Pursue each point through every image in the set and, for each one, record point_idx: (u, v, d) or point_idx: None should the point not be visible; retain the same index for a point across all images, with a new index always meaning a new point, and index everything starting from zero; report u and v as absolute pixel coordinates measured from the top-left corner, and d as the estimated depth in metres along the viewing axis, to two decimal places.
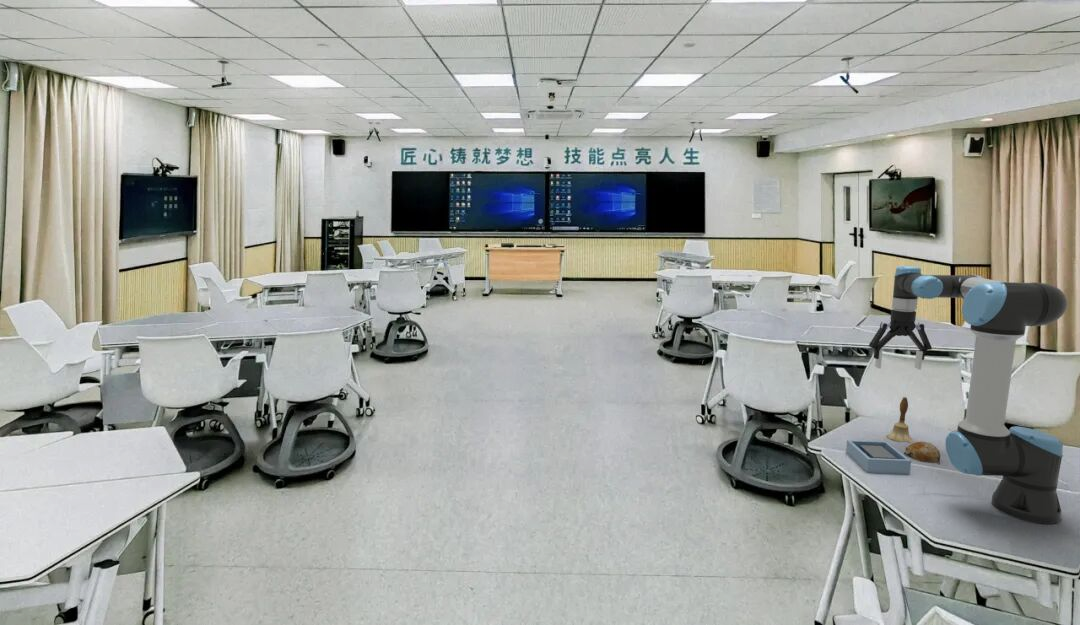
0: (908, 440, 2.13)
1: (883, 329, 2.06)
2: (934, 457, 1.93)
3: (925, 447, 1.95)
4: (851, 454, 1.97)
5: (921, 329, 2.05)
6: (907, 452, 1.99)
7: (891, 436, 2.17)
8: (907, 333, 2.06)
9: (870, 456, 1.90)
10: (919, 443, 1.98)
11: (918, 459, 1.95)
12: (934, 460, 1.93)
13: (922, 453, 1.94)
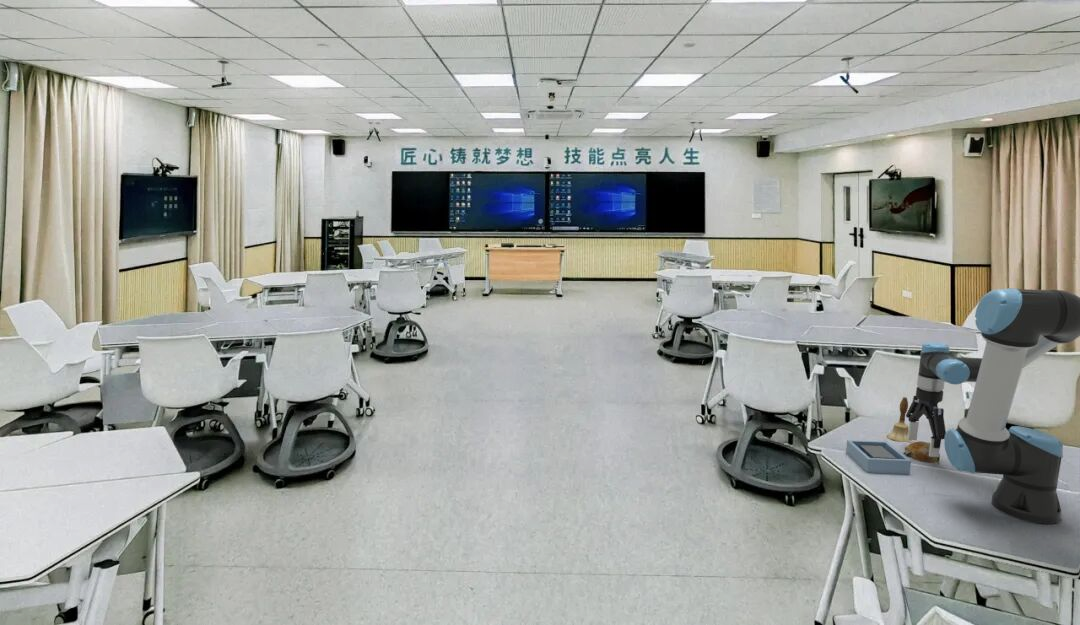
0: (908, 440, 2.13)
1: (913, 401, 2.02)
2: (933, 457, 1.94)
3: (924, 446, 1.96)
4: (851, 454, 1.97)
5: (934, 413, 1.90)
6: (906, 452, 1.99)
7: (891, 436, 2.17)
8: None
9: (870, 456, 1.90)
10: (918, 443, 1.98)
11: (917, 459, 1.95)
12: (933, 460, 1.94)
13: (922, 453, 1.94)
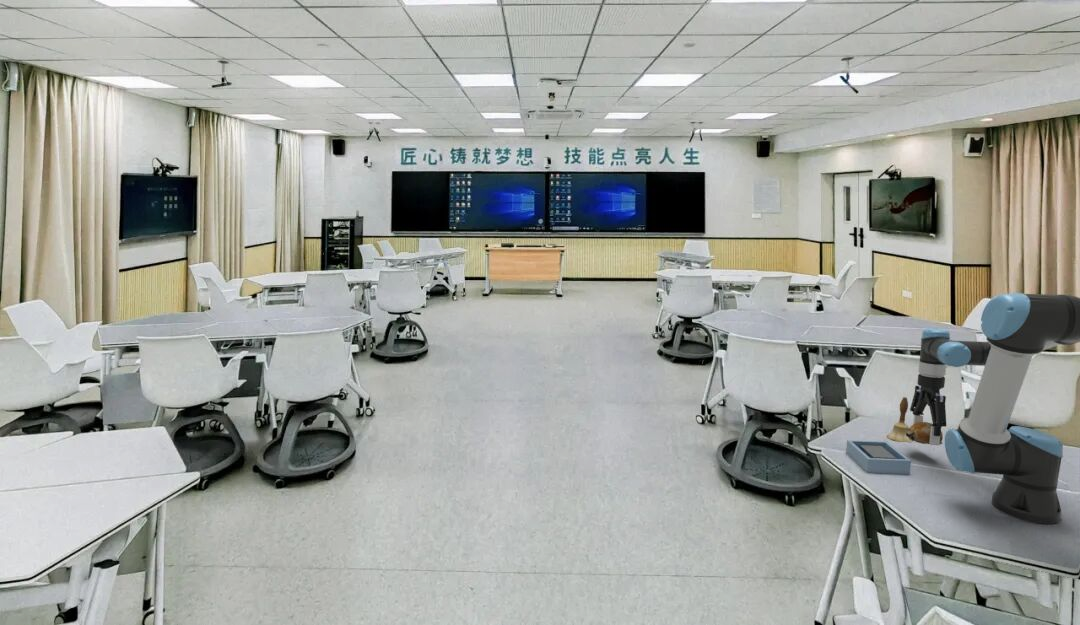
0: (908, 440, 2.13)
1: (915, 391, 2.01)
2: None
3: (927, 426, 1.94)
4: (851, 454, 1.97)
5: (935, 400, 1.89)
6: (909, 432, 1.97)
7: (891, 436, 2.17)
8: None
9: (870, 456, 1.90)
10: (921, 423, 1.96)
11: (920, 439, 1.93)
12: None
13: (924, 433, 1.93)
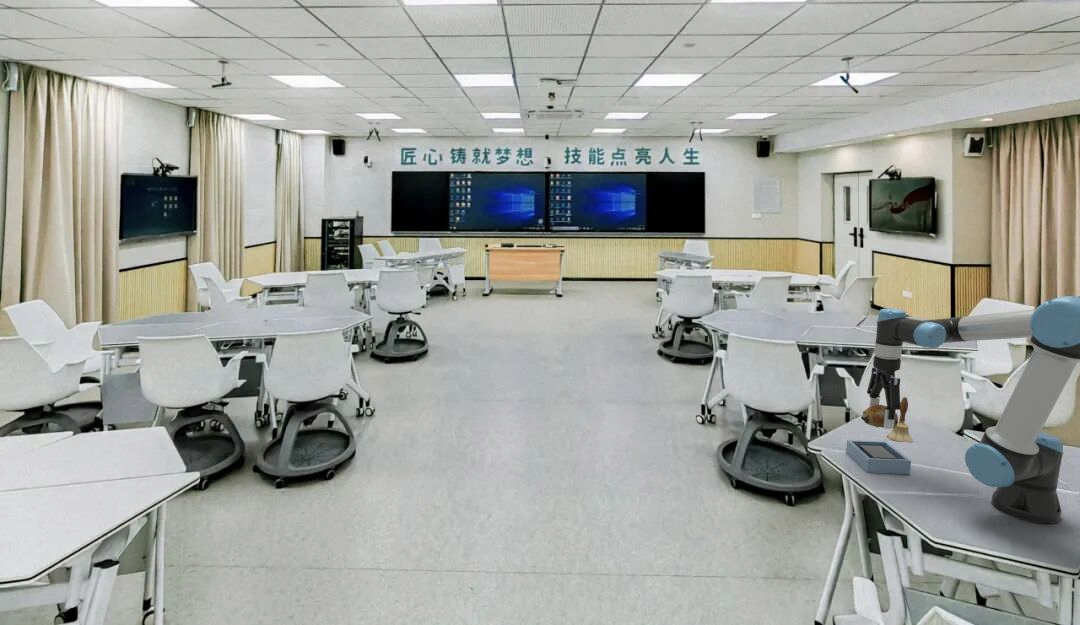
0: (908, 440, 2.13)
1: (872, 374, 1.95)
2: None
3: (882, 409, 1.88)
4: (851, 454, 1.97)
5: (890, 383, 1.83)
6: (864, 416, 1.91)
7: (891, 436, 2.17)
8: None
9: (870, 456, 1.90)
10: (876, 406, 1.91)
11: (875, 422, 1.88)
12: None
13: (879, 416, 1.87)
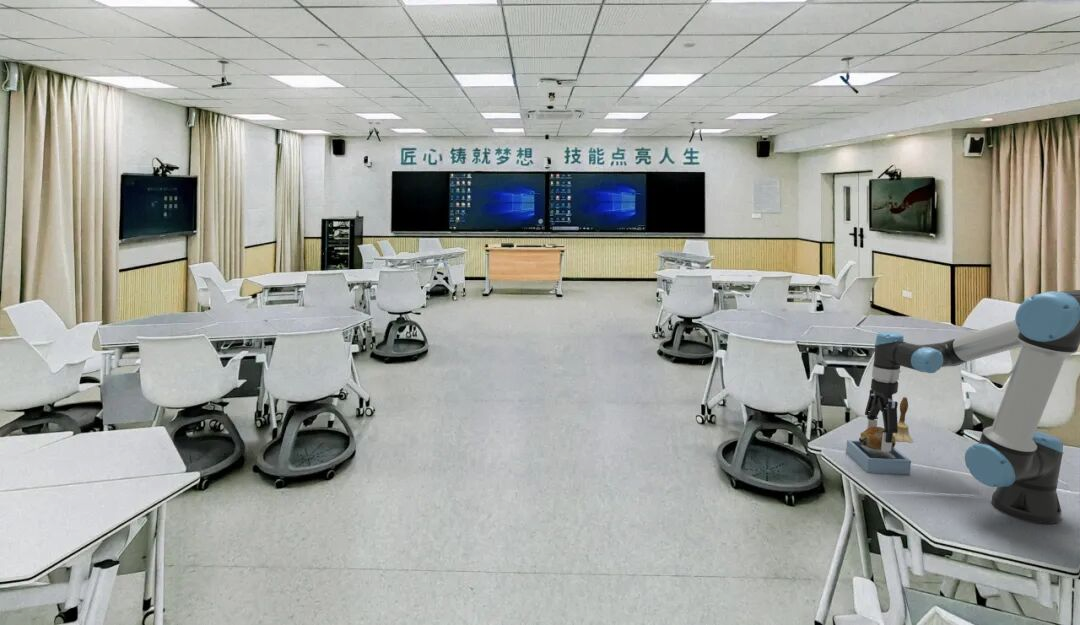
0: (908, 440, 2.13)
1: (869, 395, 1.96)
2: None
3: (880, 432, 1.89)
4: (851, 454, 1.97)
5: (887, 406, 1.84)
6: (862, 438, 1.93)
7: None
8: None
9: (870, 456, 1.90)
10: (874, 428, 1.92)
11: (872, 445, 1.89)
12: None
13: (876, 439, 1.88)
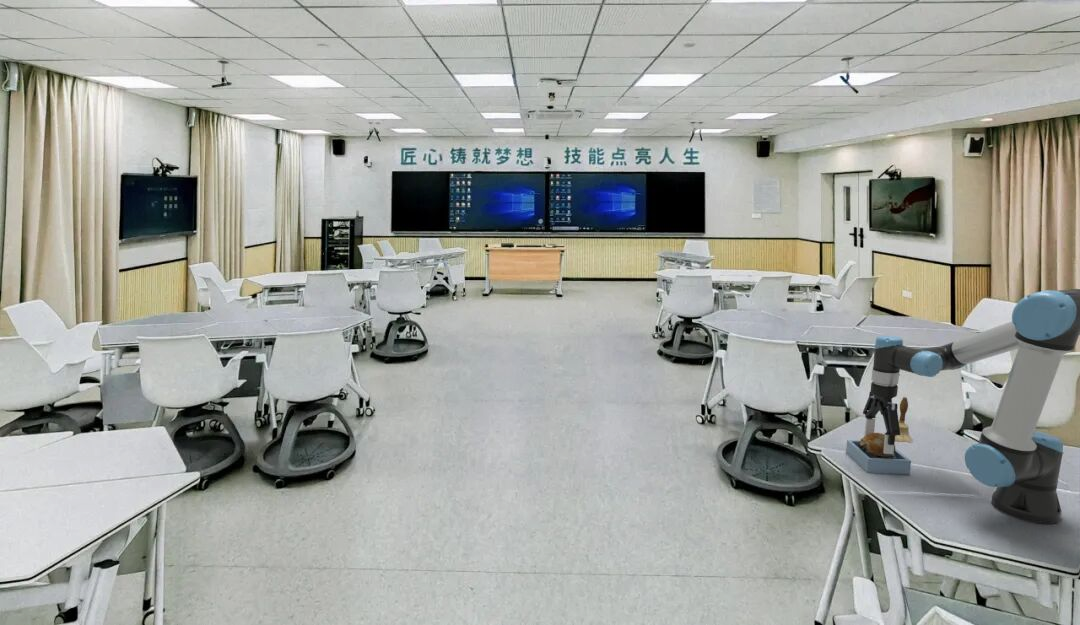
0: (908, 440, 2.13)
1: (869, 397, 1.97)
2: None
3: (879, 438, 1.90)
4: (851, 454, 1.97)
5: (887, 409, 1.84)
6: (861, 444, 1.93)
7: None
8: None
9: (870, 456, 1.90)
10: (874, 434, 1.92)
11: (872, 451, 1.89)
12: None
13: (876, 445, 1.88)
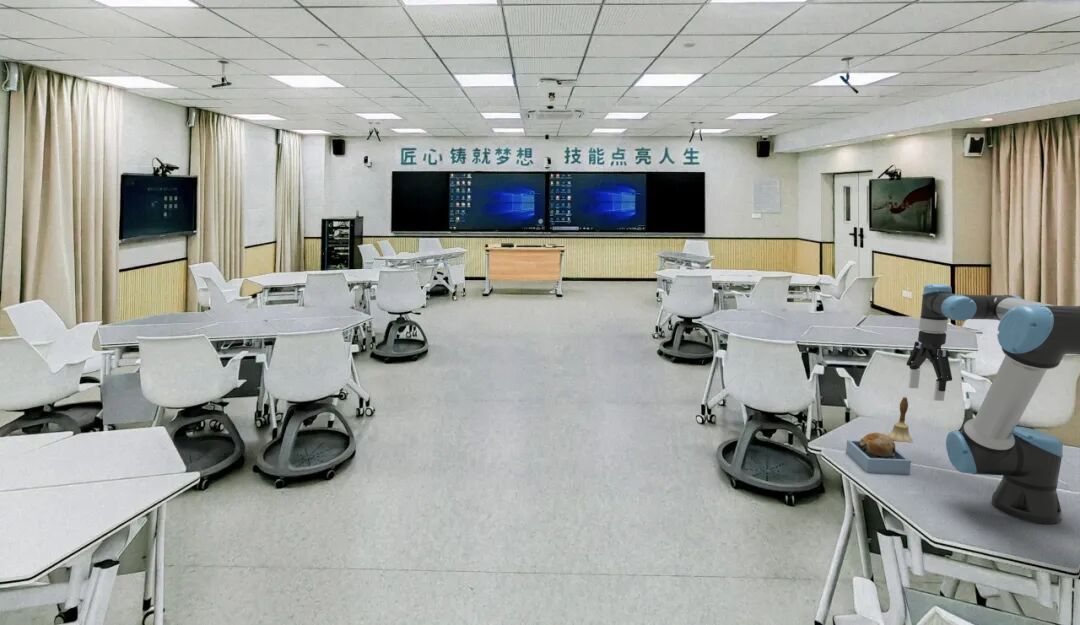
0: (908, 440, 2.13)
1: (914, 347, 1.97)
2: (888, 448, 1.88)
3: (879, 438, 1.90)
4: (851, 454, 1.97)
5: (938, 355, 1.85)
6: (862, 444, 1.93)
7: (891, 436, 2.17)
8: None
9: (870, 456, 1.90)
10: (874, 434, 1.92)
11: (872, 451, 1.89)
12: (888, 452, 1.87)
13: (876, 445, 1.88)
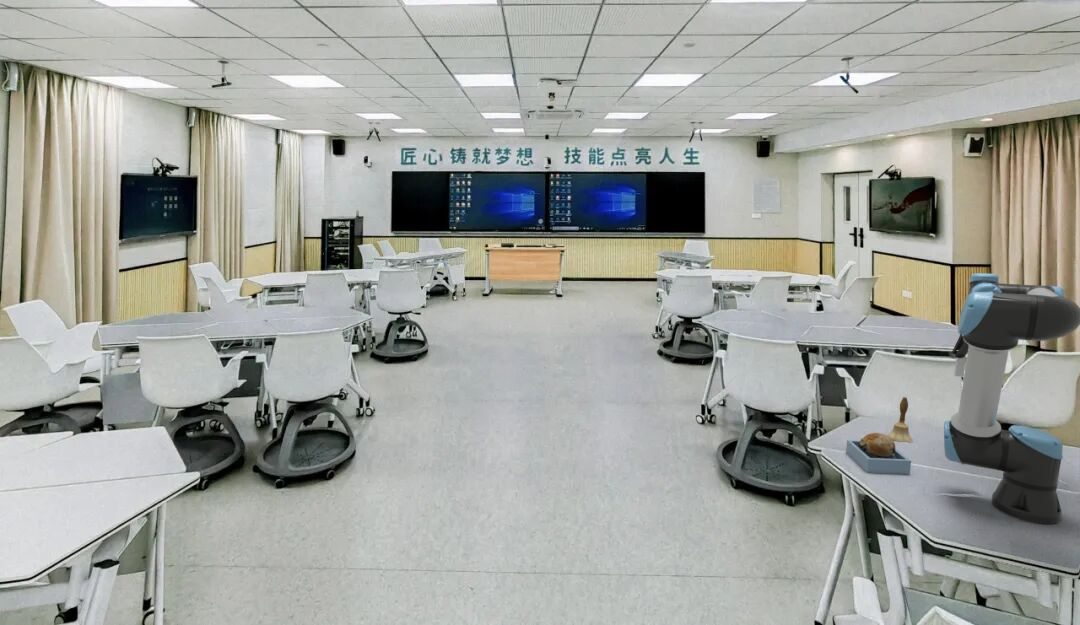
0: (908, 440, 2.13)
1: (960, 336, 2.01)
2: (888, 448, 1.87)
3: (879, 438, 1.90)
4: (851, 454, 1.97)
5: None
6: (862, 444, 1.93)
7: (891, 436, 2.17)
8: None
9: (870, 456, 1.90)
10: (874, 434, 1.92)
11: (872, 451, 1.89)
12: (888, 452, 1.87)
13: (876, 445, 1.88)
